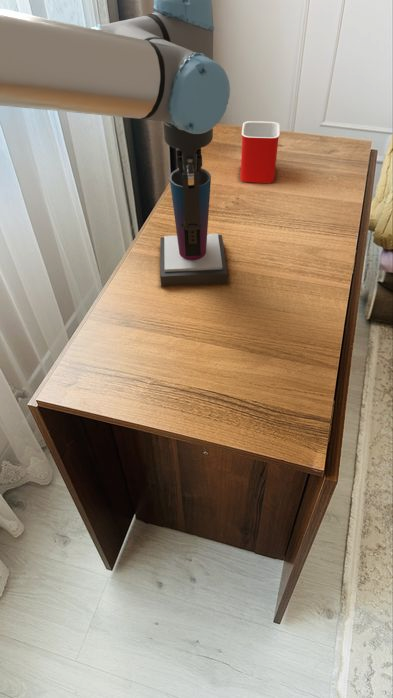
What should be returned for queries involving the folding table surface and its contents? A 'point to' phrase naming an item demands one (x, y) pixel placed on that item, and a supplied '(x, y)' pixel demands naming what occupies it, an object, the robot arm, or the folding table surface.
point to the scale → (192, 264)
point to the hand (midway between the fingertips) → (192, 243)
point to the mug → (259, 151)
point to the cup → (179, 210)
